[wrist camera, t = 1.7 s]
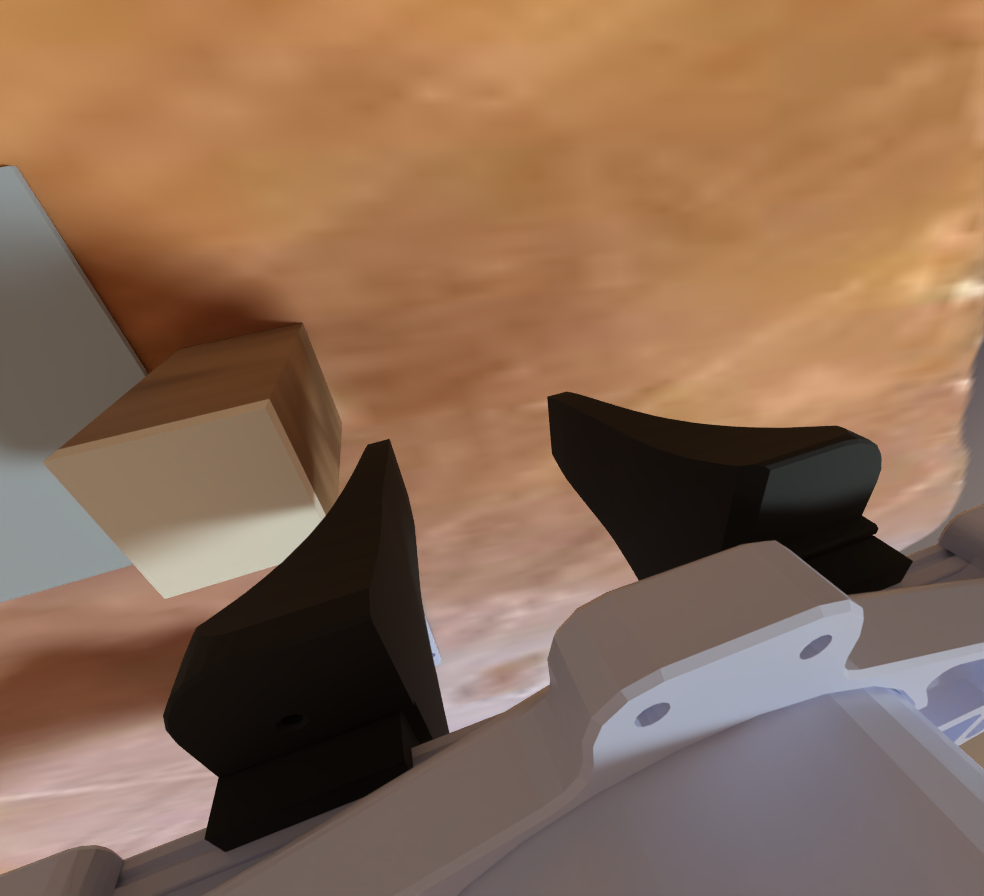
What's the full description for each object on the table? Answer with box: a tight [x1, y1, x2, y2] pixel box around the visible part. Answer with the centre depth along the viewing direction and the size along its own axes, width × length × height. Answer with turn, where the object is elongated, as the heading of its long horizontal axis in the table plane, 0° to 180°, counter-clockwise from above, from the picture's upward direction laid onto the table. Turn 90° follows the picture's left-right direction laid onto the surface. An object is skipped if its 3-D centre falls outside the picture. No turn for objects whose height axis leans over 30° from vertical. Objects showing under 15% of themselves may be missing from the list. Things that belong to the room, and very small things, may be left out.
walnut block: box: [42, 323, 342, 599], centre depth 15 cm, size 5×5×9 cm
